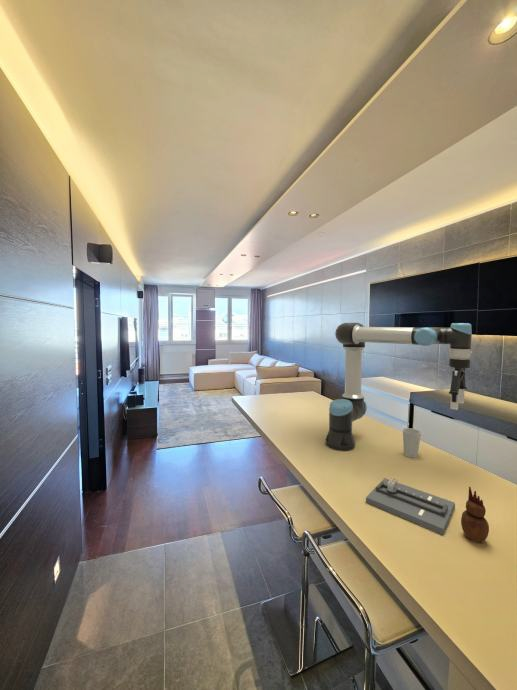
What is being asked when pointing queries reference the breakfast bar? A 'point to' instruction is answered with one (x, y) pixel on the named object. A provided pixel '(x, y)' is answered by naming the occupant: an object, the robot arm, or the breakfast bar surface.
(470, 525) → the wooden figurine
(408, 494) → the console
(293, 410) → the breakfast bar surface
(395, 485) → the fader
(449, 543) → the breakfast bar surface
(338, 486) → the breakfast bar surface
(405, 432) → the cup
